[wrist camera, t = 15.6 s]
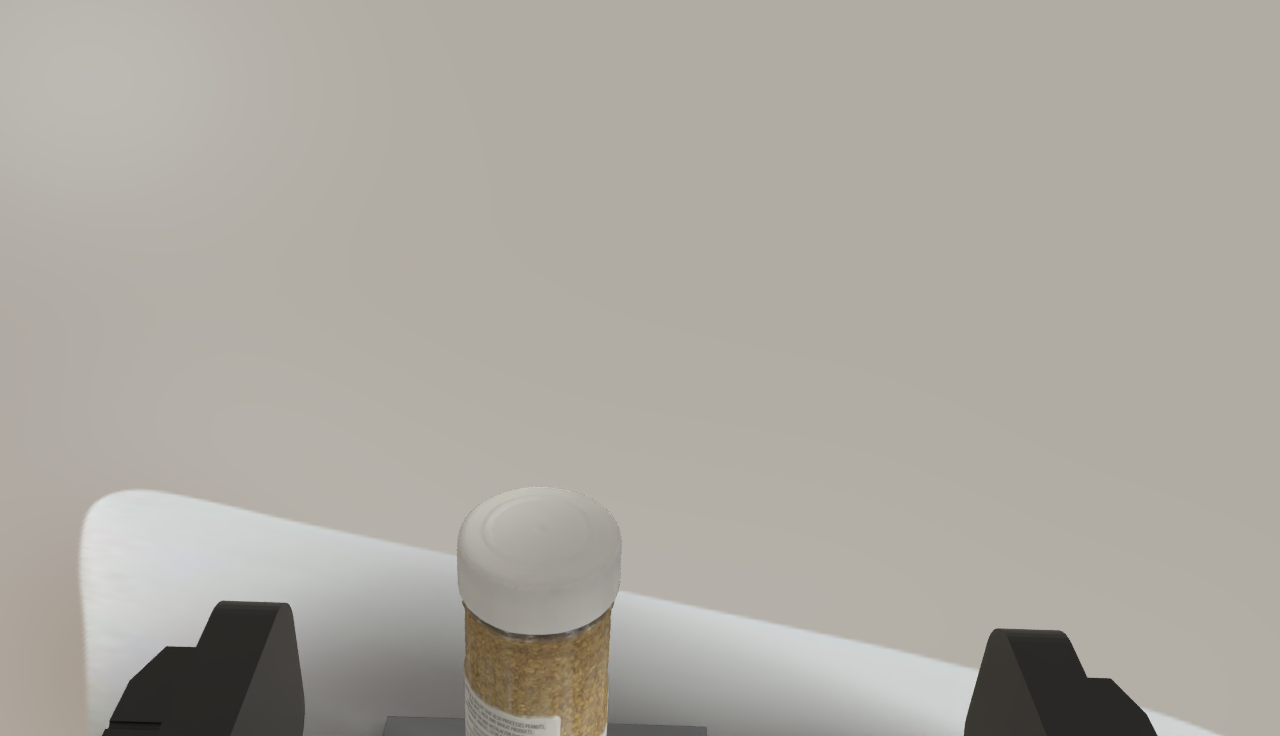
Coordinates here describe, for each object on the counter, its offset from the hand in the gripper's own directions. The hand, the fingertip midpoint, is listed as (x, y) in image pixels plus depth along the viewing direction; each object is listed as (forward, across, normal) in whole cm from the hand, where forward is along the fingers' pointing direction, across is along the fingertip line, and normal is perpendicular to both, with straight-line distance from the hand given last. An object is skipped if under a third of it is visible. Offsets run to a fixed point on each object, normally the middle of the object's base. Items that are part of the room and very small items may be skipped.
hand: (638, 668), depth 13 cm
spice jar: (+15, +2, +24) cm, 28 cm away
